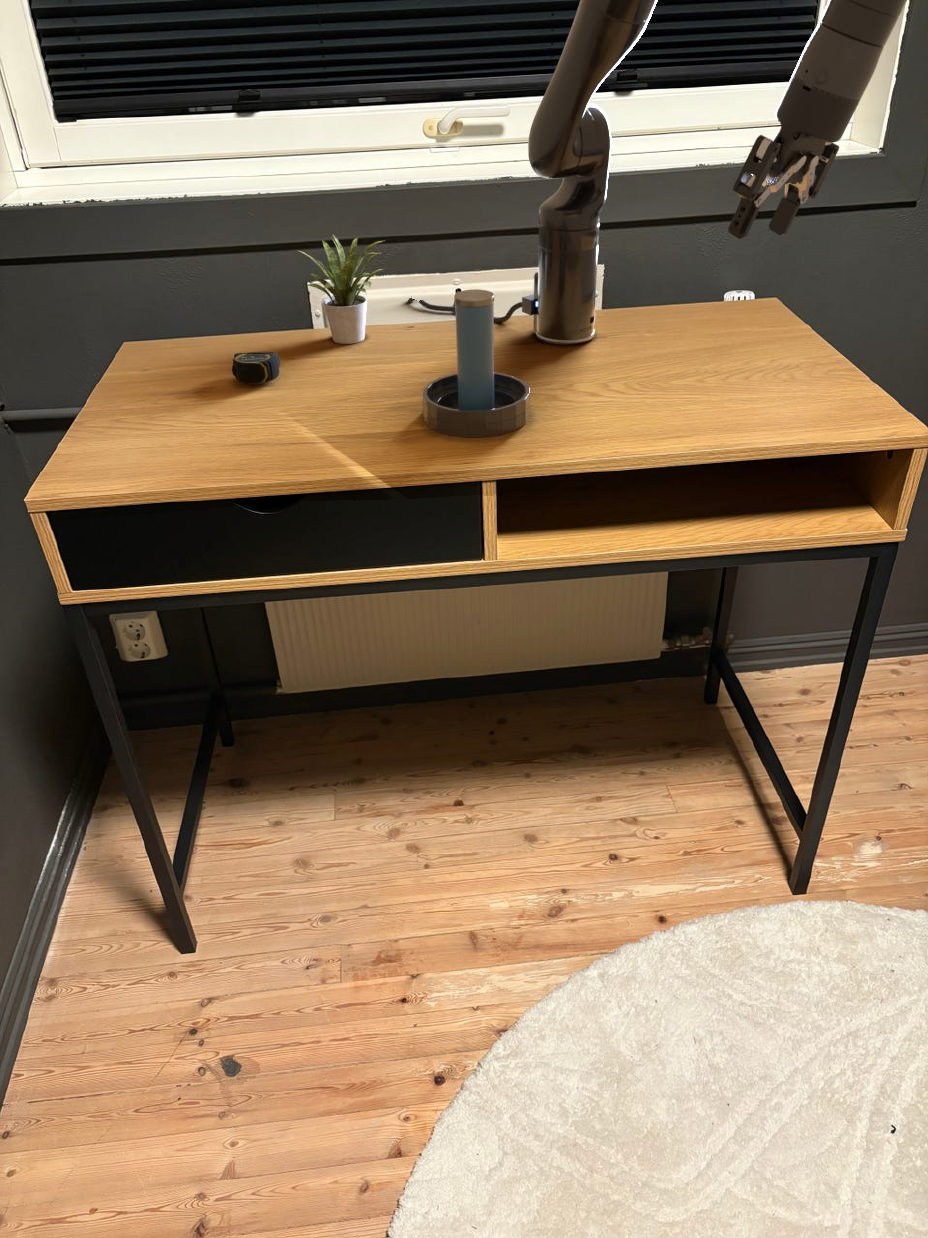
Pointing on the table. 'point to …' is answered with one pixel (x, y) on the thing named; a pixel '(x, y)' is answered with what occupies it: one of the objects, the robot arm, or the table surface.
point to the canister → (475, 349)
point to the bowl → (476, 423)
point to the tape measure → (256, 367)
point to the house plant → (345, 293)
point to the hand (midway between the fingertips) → (756, 233)
